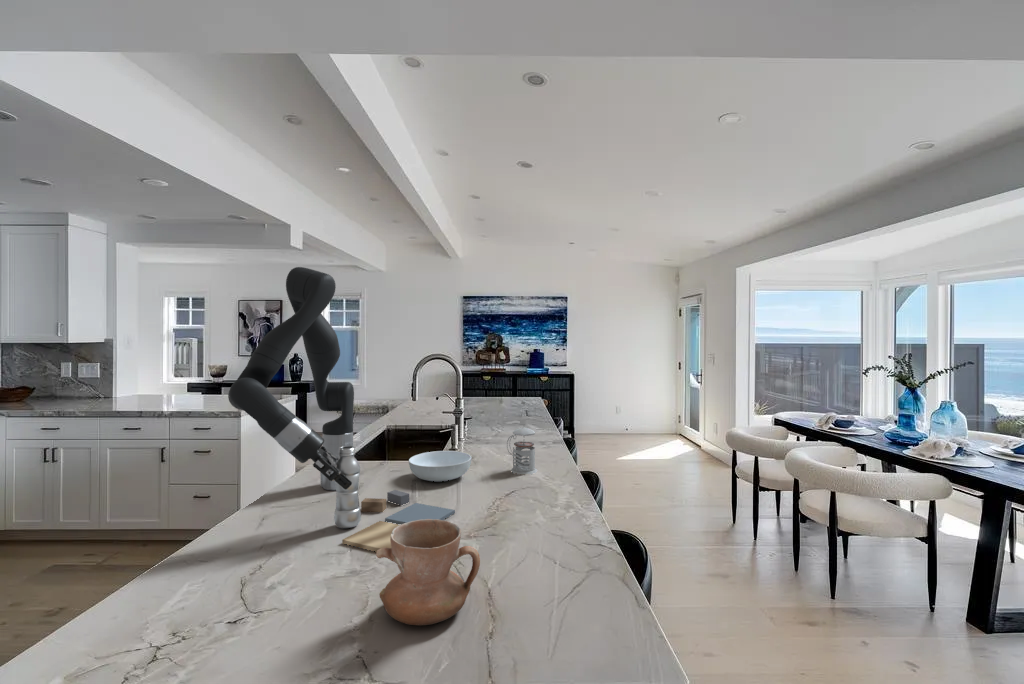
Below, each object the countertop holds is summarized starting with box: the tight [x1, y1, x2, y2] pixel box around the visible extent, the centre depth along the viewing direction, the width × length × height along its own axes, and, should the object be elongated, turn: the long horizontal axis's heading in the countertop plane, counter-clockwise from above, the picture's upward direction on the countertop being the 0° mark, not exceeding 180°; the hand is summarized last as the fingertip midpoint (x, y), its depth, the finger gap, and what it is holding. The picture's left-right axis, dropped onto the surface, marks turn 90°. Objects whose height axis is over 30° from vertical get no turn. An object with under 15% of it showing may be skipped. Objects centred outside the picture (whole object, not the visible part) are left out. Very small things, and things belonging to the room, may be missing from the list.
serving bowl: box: [408, 450, 472, 483], centre depth 170 cm, size 21×21×7 cm
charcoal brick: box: [386, 489, 410, 506], centre depth 145 cm, size 6×3×3 cm, turn 53°
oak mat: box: [341, 520, 399, 553], centre depth 120 cm, size 13×13×1 cm
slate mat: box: [384, 502, 456, 524], centre depth 133 cm, size 13×13×1 cm
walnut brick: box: [360, 497, 387, 513], centre depth 139 cm, size 6×3×3 cm, turn 85°
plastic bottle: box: [333, 445, 362, 529], centre depth 127 cm, size 6×7×20 cm
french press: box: [506, 400, 538, 475], centre depth 179 cm, size 10×12×25 cm
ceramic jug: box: [375, 519, 481, 626], centre depth 89 cm, size 18×14×14 cm
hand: (349, 481), depth 127 cm, fingers open, 8 cm apart
